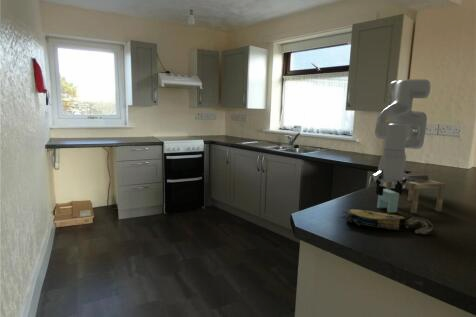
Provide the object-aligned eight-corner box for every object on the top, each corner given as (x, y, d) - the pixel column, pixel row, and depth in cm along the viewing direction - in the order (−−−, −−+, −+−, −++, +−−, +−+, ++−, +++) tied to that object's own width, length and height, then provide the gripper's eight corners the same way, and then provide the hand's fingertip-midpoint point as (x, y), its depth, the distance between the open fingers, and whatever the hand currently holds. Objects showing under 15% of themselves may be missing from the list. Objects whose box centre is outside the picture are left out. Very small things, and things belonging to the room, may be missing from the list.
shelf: (384, 201, 138) (387, 171, 135) (409, 200, 142) (413, 171, 140) (413, 213, 123) (418, 180, 120) (441, 211, 127) (446, 179, 125)
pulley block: (442, 223, 94) (341, 208, 105) (440, 241, 94) (340, 225, 105) (431, 216, 107) (342, 203, 118) (429, 232, 107) (341, 218, 118)
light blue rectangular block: (376, 207, 129) (379, 189, 127) (384, 206, 130) (386, 189, 128) (389, 212, 122) (391, 193, 121) (396, 212, 123) (399, 193, 122)
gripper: (403, 152, 128) (397, 191, 131) (369, 152, 123) (365, 192, 126) (418, 155, 121) (412, 196, 124) (383, 155, 116) (378, 197, 119)
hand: (388, 194), depth 125 cm, fingers open, 9 cm apart
